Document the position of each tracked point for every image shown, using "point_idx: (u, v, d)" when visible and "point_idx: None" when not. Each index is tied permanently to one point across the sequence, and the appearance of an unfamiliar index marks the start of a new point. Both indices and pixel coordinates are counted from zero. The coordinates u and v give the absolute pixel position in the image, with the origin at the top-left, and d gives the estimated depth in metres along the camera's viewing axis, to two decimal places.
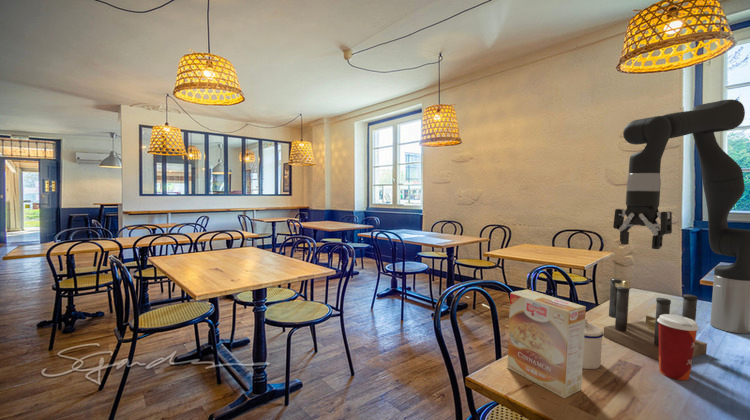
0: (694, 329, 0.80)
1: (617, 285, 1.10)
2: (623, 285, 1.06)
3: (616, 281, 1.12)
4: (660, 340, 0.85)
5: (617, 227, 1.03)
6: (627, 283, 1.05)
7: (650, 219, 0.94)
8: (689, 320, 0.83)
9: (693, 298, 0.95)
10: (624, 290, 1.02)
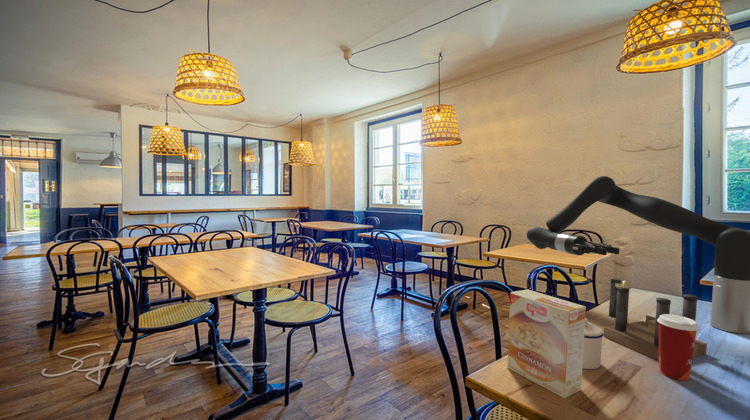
0: (694, 329, 0.80)
1: (617, 285, 1.10)
2: (623, 285, 1.06)
3: (616, 281, 1.12)
4: (660, 340, 0.85)
5: None
6: (627, 283, 1.05)
7: (584, 250, 1.26)
8: (689, 320, 0.83)
9: (693, 298, 0.95)
10: (624, 290, 1.02)
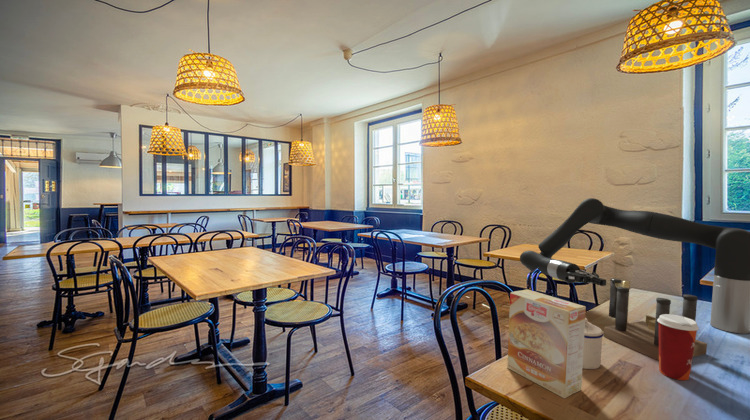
0: (694, 329, 0.80)
1: (617, 285, 1.10)
2: (623, 285, 1.06)
3: (616, 281, 1.12)
4: (660, 340, 0.85)
5: None
6: (627, 283, 1.05)
7: None
8: (689, 320, 0.83)
9: (693, 298, 0.95)
10: (624, 290, 1.02)
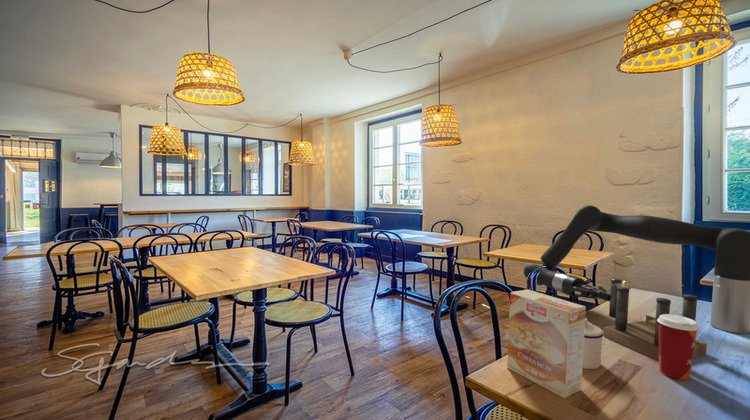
0: (694, 329, 0.80)
1: (617, 285, 1.10)
2: (623, 285, 1.06)
3: (616, 281, 1.12)
4: (660, 340, 0.85)
5: None
6: (627, 283, 1.05)
7: (585, 294, 1.23)
8: (689, 320, 0.83)
9: (693, 298, 0.95)
10: (624, 290, 1.02)
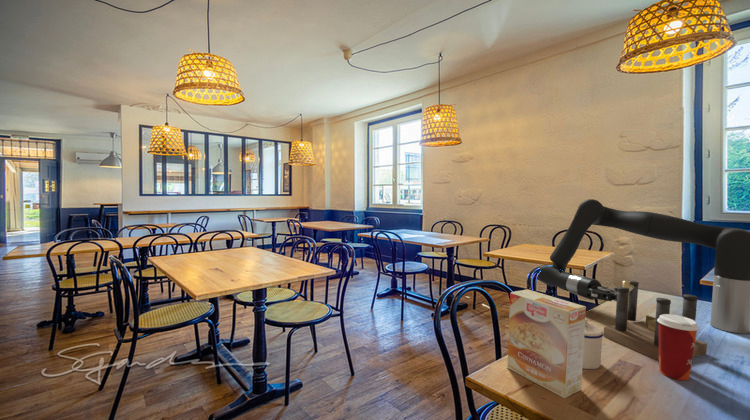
0: (694, 329, 0.80)
1: None
2: (622, 285, 1.06)
3: (630, 283, 1.10)
4: (660, 340, 0.85)
5: None
6: (625, 283, 1.05)
7: None
8: (689, 320, 0.83)
9: (693, 298, 0.95)
10: (624, 290, 1.02)
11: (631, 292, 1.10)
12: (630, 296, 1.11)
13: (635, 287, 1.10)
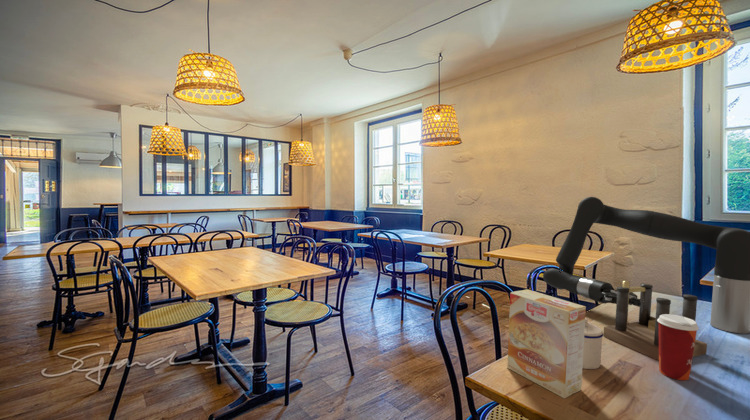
0: (694, 329, 0.80)
1: None
2: None
3: (642, 285, 1.08)
4: (660, 340, 0.85)
5: None
6: (624, 282, 1.06)
7: None
8: (689, 320, 0.83)
9: (693, 298, 0.95)
10: (624, 290, 1.02)
11: (642, 295, 1.07)
12: (641, 299, 1.08)
13: (646, 290, 1.07)
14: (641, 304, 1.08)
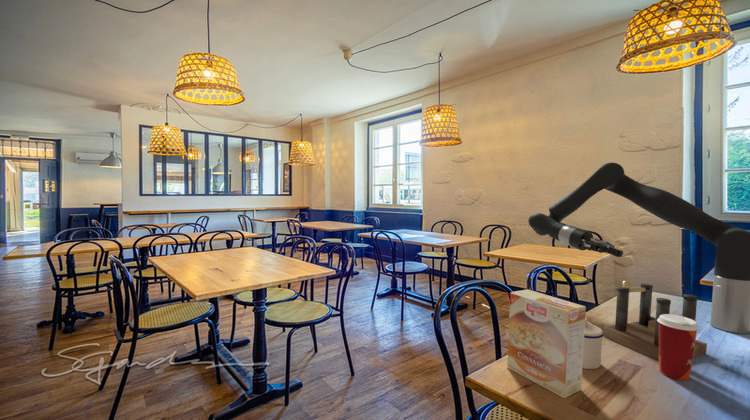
0: (694, 329, 0.80)
1: None
2: None
3: (642, 285, 1.08)
4: (660, 340, 0.85)
5: None
6: (623, 282, 1.06)
7: None
8: (689, 320, 0.83)
9: (693, 298, 0.95)
10: (624, 290, 1.02)
11: (642, 295, 1.07)
12: (641, 299, 1.08)
13: (646, 290, 1.07)
14: (641, 304, 1.08)
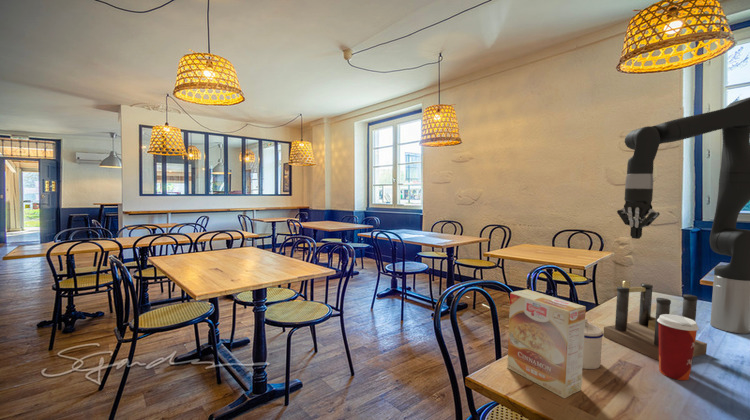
0: (694, 329, 0.80)
1: None
2: None
3: (642, 285, 1.08)
4: (660, 340, 0.85)
5: (628, 222, 1.19)
6: (623, 282, 1.06)
7: (641, 214, 1.15)
8: (689, 320, 0.83)
9: (693, 298, 0.95)
10: (624, 290, 1.02)
11: (642, 295, 1.07)
12: (641, 299, 1.08)
13: (646, 290, 1.07)
14: (641, 304, 1.08)
